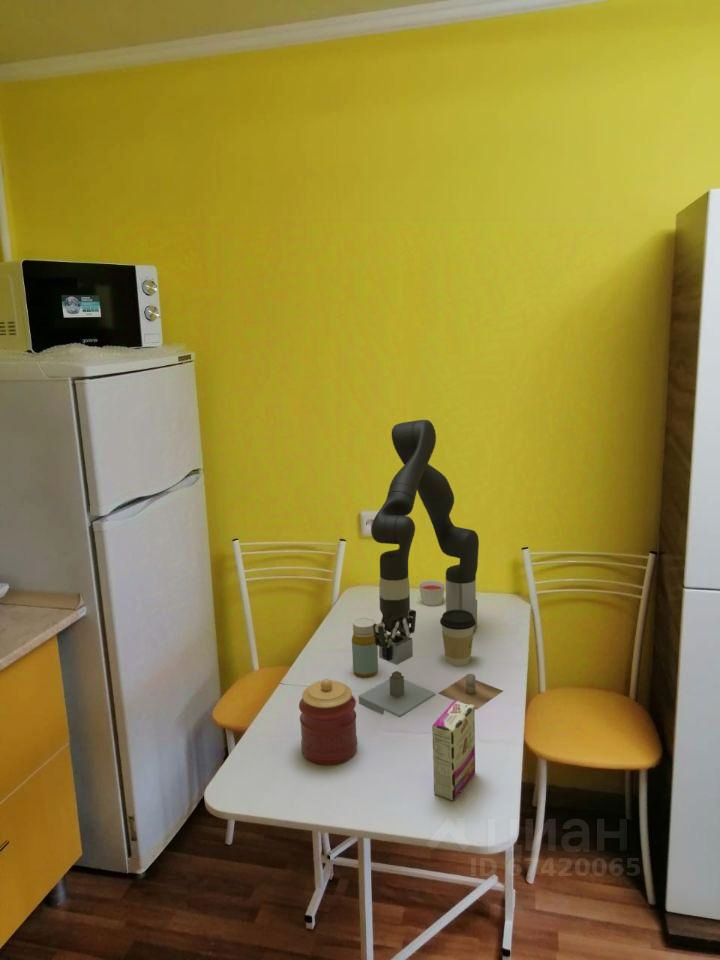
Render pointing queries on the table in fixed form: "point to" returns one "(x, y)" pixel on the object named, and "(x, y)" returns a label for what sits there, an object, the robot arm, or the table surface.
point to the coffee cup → (457, 636)
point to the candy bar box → (454, 749)
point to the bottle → (364, 648)
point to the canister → (328, 722)
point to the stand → (471, 691)
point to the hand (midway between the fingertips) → (395, 654)
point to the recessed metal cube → (399, 649)
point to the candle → (432, 592)
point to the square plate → (395, 696)
